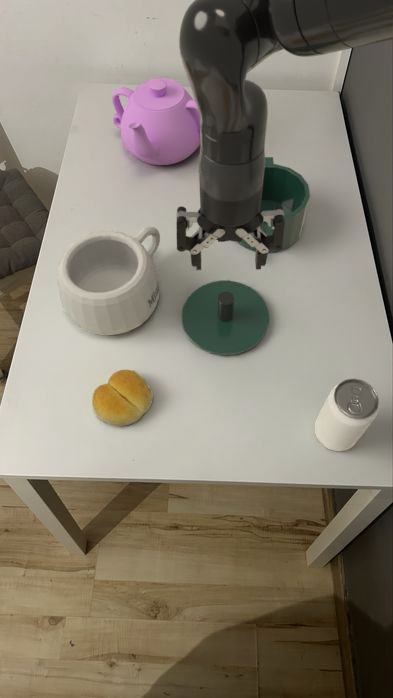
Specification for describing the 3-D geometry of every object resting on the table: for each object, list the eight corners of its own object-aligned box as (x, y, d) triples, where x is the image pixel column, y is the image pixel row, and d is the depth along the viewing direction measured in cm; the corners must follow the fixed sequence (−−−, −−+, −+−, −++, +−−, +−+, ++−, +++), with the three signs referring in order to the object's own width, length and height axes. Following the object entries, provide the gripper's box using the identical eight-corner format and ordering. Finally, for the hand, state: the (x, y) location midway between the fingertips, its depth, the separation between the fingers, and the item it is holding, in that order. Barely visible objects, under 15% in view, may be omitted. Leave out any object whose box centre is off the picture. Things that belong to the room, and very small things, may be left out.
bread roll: (84, 404, 77) (78, 393, 74) (128, 367, 80) (124, 355, 77) (118, 440, 74) (113, 430, 71) (163, 400, 77) (160, 390, 74)
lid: (265, 283, 88) (269, 261, 82) (271, 356, 81) (275, 337, 75) (182, 284, 88) (181, 262, 83) (180, 357, 81) (178, 337, 76)
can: (311, 446, 73) (327, 415, 63) (316, 406, 76) (333, 371, 66) (356, 456, 72) (380, 427, 62) (359, 415, 75) (383, 381, 65)
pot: (297, 188, 99) (304, 153, 92) (306, 264, 90) (315, 231, 82) (228, 189, 99) (229, 154, 92) (230, 265, 90) (232, 232, 83)
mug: (117, 358, 81) (106, 325, 72) (45, 307, 86) (26, 271, 78) (197, 273, 89) (195, 235, 81) (126, 232, 95) (118, 191, 86)
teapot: (91, 176, 102) (75, 115, 90) (131, 111, 112) (121, 48, 100) (193, 198, 98) (190, 138, 86) (224, 129, 108) (226, 66, 96)
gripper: (169, 200, 57) (178, 286, 71) (295, 198, 56) (279, 285, 70) (171, 155, 60) (180, 245, 74) (290, 153, 60) (276, 244, 74)
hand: (228, 265), depth 72 cm, fingers open, 8 cm apart
